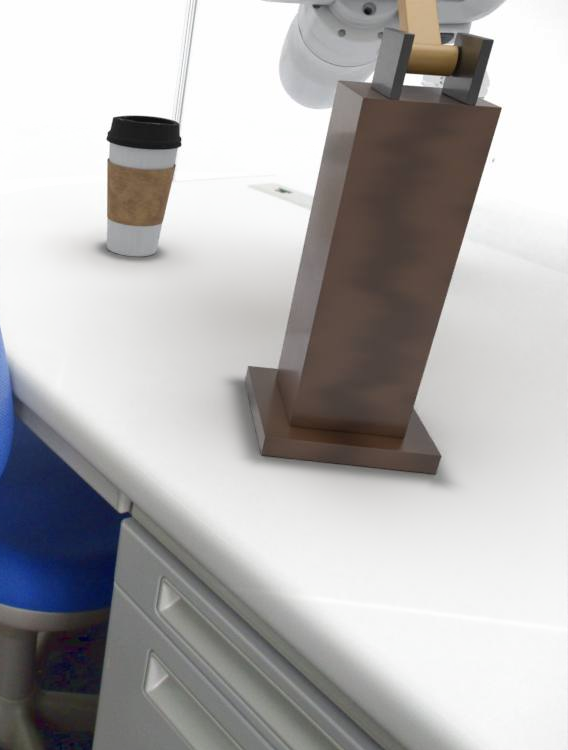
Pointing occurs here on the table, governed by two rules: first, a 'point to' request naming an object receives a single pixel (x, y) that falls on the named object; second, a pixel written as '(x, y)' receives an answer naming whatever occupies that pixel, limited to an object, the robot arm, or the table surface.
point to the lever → (426, 39)
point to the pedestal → (377, 264)
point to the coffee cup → (139, 181)
